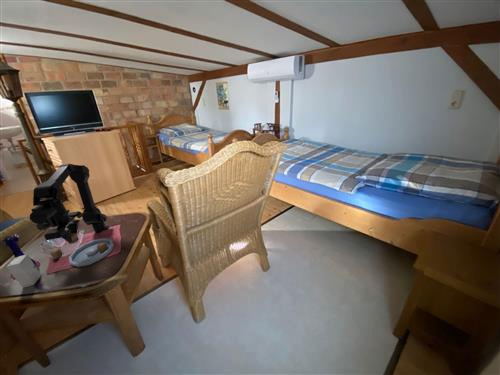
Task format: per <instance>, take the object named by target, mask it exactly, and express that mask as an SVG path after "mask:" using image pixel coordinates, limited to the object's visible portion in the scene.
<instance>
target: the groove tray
mask: <svg viewBox="0 0 500 375" xmlns="http://www.w3.org/2000/svg"><path fill="white" fill-rule="evenodd" d="M102 242H106V243H107V246H108V250H106V251H105V252H104V253H100V252H99V250H98V248H97V245H98V244H100V243H102ZM114 247H115V245H114V243H113V240H112V238H107V237H101V238H98V239H93V240H91V241H88V242H86V243H84V244H82V245H81V246H78V247H77V248H76V249H75V250H73V252H71V254H70V255H69V256H68V261H69V265H70V266H73V267H76V268H79V267H84V266H85V267H86V266H89V265H92V264H93V263H96V262H98V261H100V260H102V259H104V257H107V256H108V255H109V254H110V253H111V252H112V251H113V248H114Z"/></svg>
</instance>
